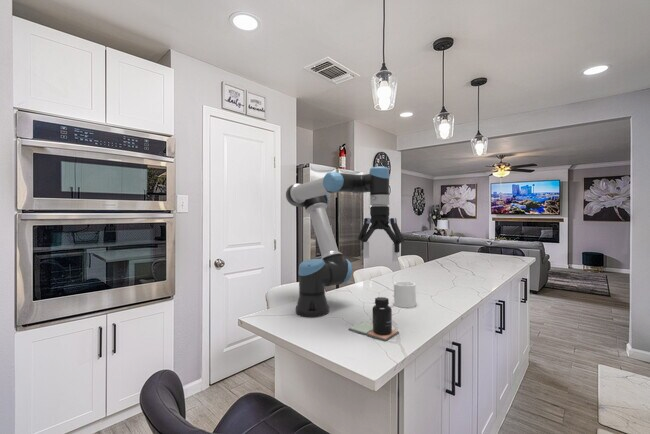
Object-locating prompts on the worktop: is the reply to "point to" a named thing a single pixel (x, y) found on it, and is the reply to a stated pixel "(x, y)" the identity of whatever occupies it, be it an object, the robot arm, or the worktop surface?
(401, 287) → the mug
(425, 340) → the worktop surface
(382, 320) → the supplement bottle
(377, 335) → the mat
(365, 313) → the worktop surface
